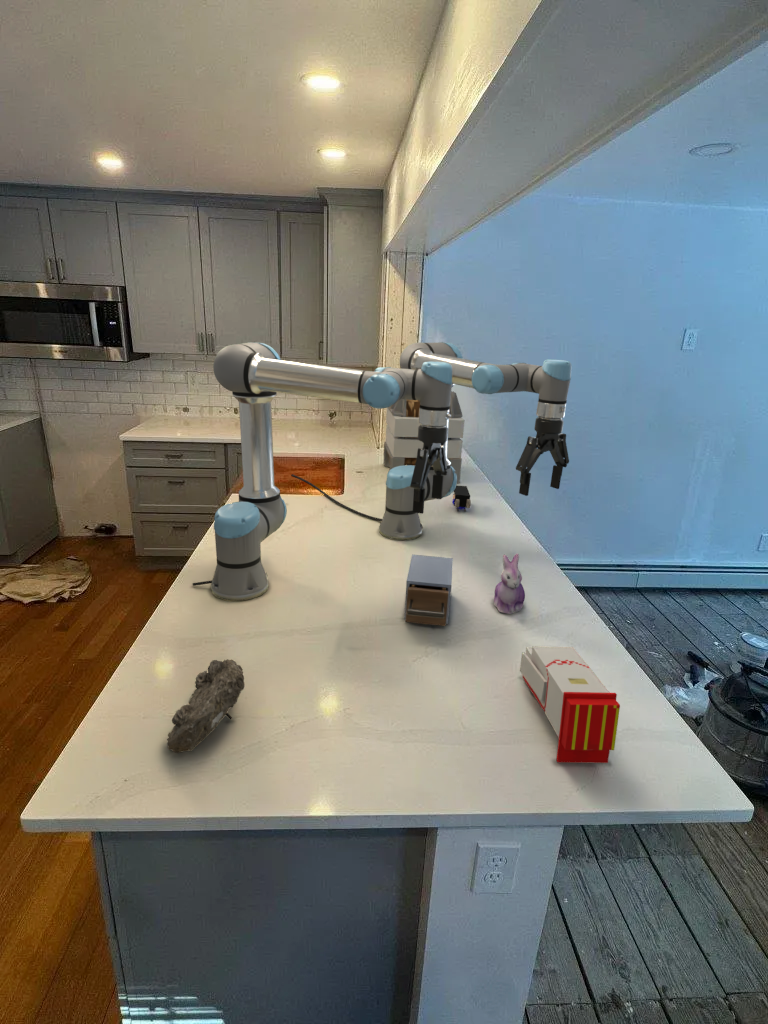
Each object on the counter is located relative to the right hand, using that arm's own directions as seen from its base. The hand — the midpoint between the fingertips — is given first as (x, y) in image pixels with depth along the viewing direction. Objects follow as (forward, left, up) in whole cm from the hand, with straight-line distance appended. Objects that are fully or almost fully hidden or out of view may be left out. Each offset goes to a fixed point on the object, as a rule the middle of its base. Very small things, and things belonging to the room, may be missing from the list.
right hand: (539, 491), depth 164 cm
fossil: (+2, -102, -27) cm, 106 cm away
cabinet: (-4, -38, -27) cm, 47 cm away
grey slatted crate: (-100, +51, -27) cm, 115 cm away
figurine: (+9, -21, -27) cm, 35 cm away
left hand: (-11, -35, -1) cm, 36 cm away
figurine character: (-54, +29, -27) cm, 67 cm away
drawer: (0, -43, -26) cm, 50 cm away
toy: (+42, -48, -27) cm, 69 cm away
